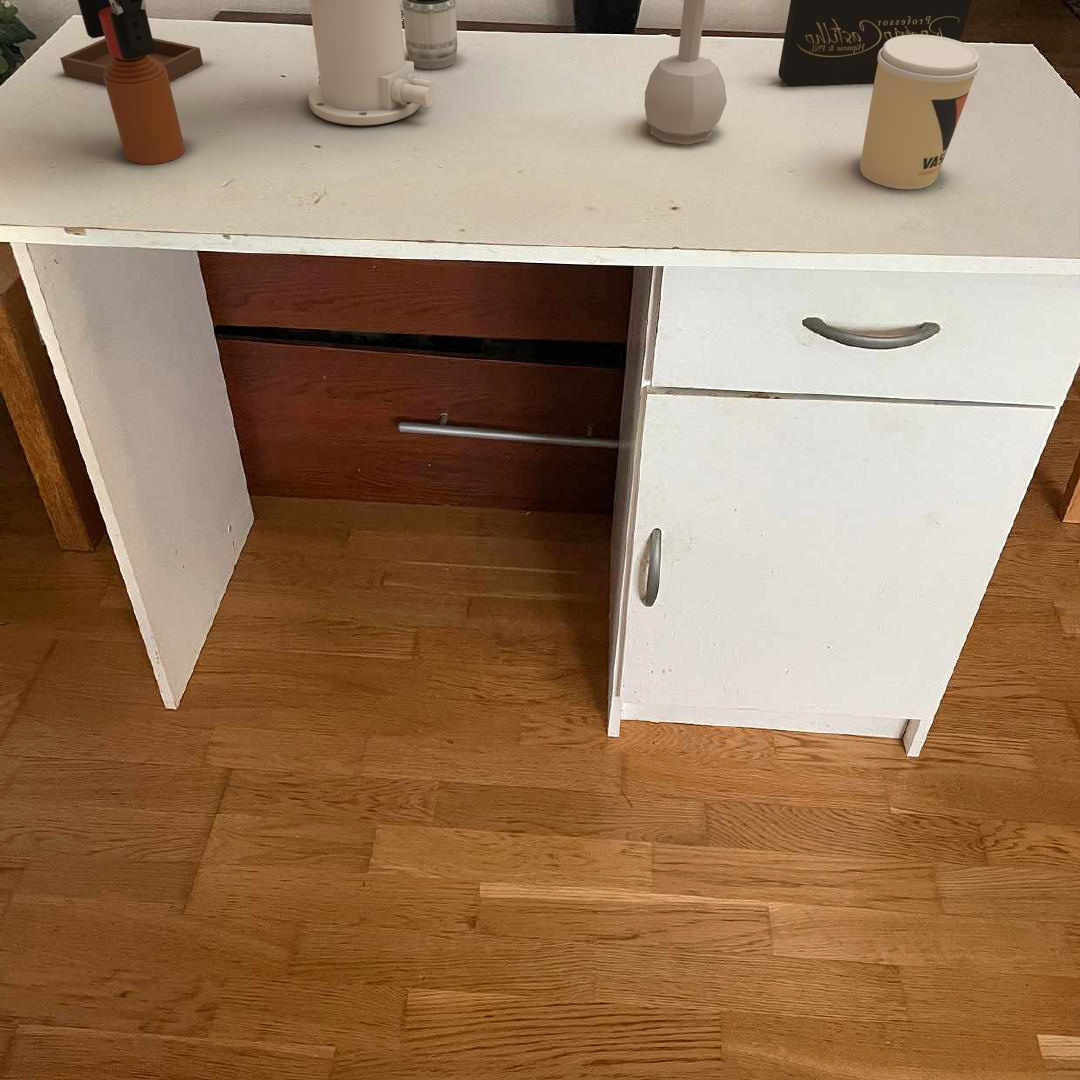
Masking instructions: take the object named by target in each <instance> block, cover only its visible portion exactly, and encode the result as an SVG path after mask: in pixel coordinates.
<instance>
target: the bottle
mask: <svg viewBox="0 0 1080 1080" xmlns="http://www.w3.org/2000/svg"><path fill="white" fill-rule="evenodd" d="M103 78H104V82H105V84H104V85H105V88H106V92H107V96H108V99H109V103H110V107H111V110H112V113H113V117H114V120H115V124H116V128H117V131H118V135H119V138H120V141H121V146H122V148H123V153H124V155H125V158H126V159H127V160H128V161H130V162H132V163H134V164H139V165H159V164H165V163H168V162H171V161H174V160H176V159H178V158H180V157H181V156H182V155H183V154H184V153H185V152H186V146H185V141H184V138H183V134H182V130H181V129H182V128H181V125H180V121H179V117H178V112H177V109H176V104H175V100H174V96H173V92H172V88H171V82H169V79H168V75H167V70H166V68H165V67H164V66H163V64H162V63H161V62H159V61H157V60H156V59H154V58H152V57H151V56H149V55H145V56H141V57H137V58H133V59H129V60H126V59H121V58H115V57H114V59H113V60H112V61H111V63H109V64H108V66H107V67H106V68H105V70H104V74H103Z"/></svg>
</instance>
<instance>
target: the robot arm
mask: <svg viewBox="0 0 1080 1080" xmlns="http://www.w3.org/2000/svg"><path fill="white" fill-rule="evenodd" d="M308 1H309V9H310V14H311V23H312V30H313V37H314V45H315V52H316V59H317V65H318V66H317V68H318V74H319V81H320V83H318V84H317V85H315V86H314V88H312V89H311V90H310V92H309V94H308V104H309V107H310V110H311V112H312V113H313V114H314V115H315V116H318V117H319V118H320V119H323V120H325V121H327V122H329V123H335V124H339V125H345V126H347V125H348V126H378V125H384V124H388V123H392V122H397V121H399V120H403V119H405V118H408V117H409V116H412V115H413V114H414V113H416V111H417V110H419V109H420V107H421V106H424V107H428V108H429V107H432V105H433V104H434V100H435V89H436V83H435V81H434V80H432V79H426V78H418V77H417V75H416V74H415V66H414V62H411V61H410V60H407V59H406V57H405V54H406V53H405V43H404V31H403V17H402V7H401V0H308ZM77 3H78V7H79V10H80V13H81V17H82V20H83V24H84V28H85V31H86V34H87V36H88V37H90V38H91V39H98V38H102V37H105V36H104V32H103V28H102V25H101V21H100V17H99V11H100V10H102V9H104V8H107V7H111V6H112V9H113V11H114V13H110V16H111V20H112V24H113V28H114V31H115V35H116V39H117V43H118V46H119V50H120V54H121V56H122V57H123V58H124V59H126V60H129V59H133V58H137V57H141V56H145V55H149V54H153V53H154V52H155V47H154V42H153V38H154V37H153V34H152V31H151V27H150V23H149V18H148V14H147V10H146V9H147V3H146V1H145V0H77Z"/></svg>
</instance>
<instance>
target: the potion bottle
mask: <svg viewBox="0 0 1080 1080" xmlns="http://www.w3.org/2000/svg"><path fill="white" fill-rule="evenodd" d="M705 7H706V0H683V7H682V16H681V26H680V34H679V37H680V38H679V45H678V54H674V55H670V56H668V57H666V58H662V59H660V60H659V61H658V62H657V64H656V66H655V67H654V68H653V70H652V72H651V73H650V75H649V78H648V81H647V85H646V89H645V91H644V110H645V117H646V123H647V124H649V125H650V135H651V136H653V137H654V138H657V139H658V140H660V141H662V142H664V143H669V144H670V143H671V144H678V145H692V144H696V143H702V142H706V141H708V140H709V138H710V137H711V135H712V134H713V132H714V128H715V127H716V126H717V124H718V123H719V122H720V121H721V118H722V116H723V113H724V110H725V108H726V105H727V103H728V101H727V92H726V91H727V90H726V83H725V80H724V78H723V75H722V73H721V71H720V69H719V67H718V66H717V65H716V64H715V62H713V61H712V60H711V59H710V58H706V57H702V56H700V50H701V41H702V33H703V25H704V16H705Z"/></svg>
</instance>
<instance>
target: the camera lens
mask: <svg viewBox="0 0 1080 1080" xmlns="http://www.w3.org/2000/svg"><path fill="white" fill-rule="evenodd" d="M401 3H402V15H403V17H402V18H403V27H404V39H405V47H406V52H407V56H408V59H409V60H408V61H411V62H414V68H417V69H422V70H441V69H446V68H449V67H451V66H453V65H454V64H455V62H456V59H457V53H458V27H457V26H458V25H457V8H456V7H457V6H456V5H457V4H456V0H402V1H401Z"/></svg>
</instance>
